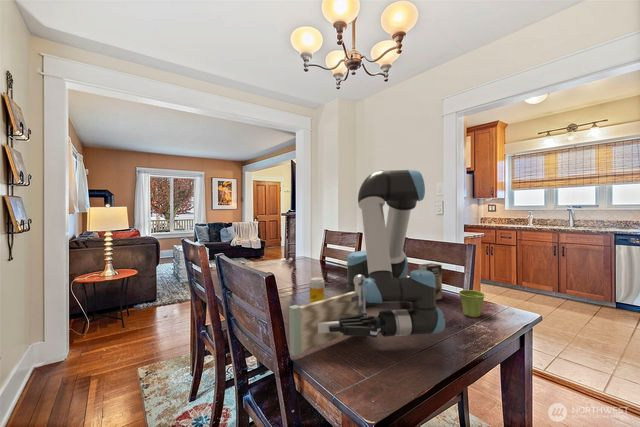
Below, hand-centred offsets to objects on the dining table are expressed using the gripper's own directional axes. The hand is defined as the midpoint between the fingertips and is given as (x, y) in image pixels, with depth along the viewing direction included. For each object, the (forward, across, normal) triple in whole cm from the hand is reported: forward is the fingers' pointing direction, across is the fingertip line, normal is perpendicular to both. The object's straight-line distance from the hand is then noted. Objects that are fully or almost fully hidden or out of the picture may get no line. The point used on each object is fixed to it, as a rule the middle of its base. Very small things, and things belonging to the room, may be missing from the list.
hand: (317, 327), depth 86 cm
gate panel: (-3, +4, -6) cm, 8 cm away
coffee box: (-58, +44, -8) cm, 73 cm away
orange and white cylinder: (-3, +31, -8) cm, 32 cm away
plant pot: (-64, +22, -8) cm, 68 cm away
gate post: (-16, +12, -8) cm, 22 cm away
